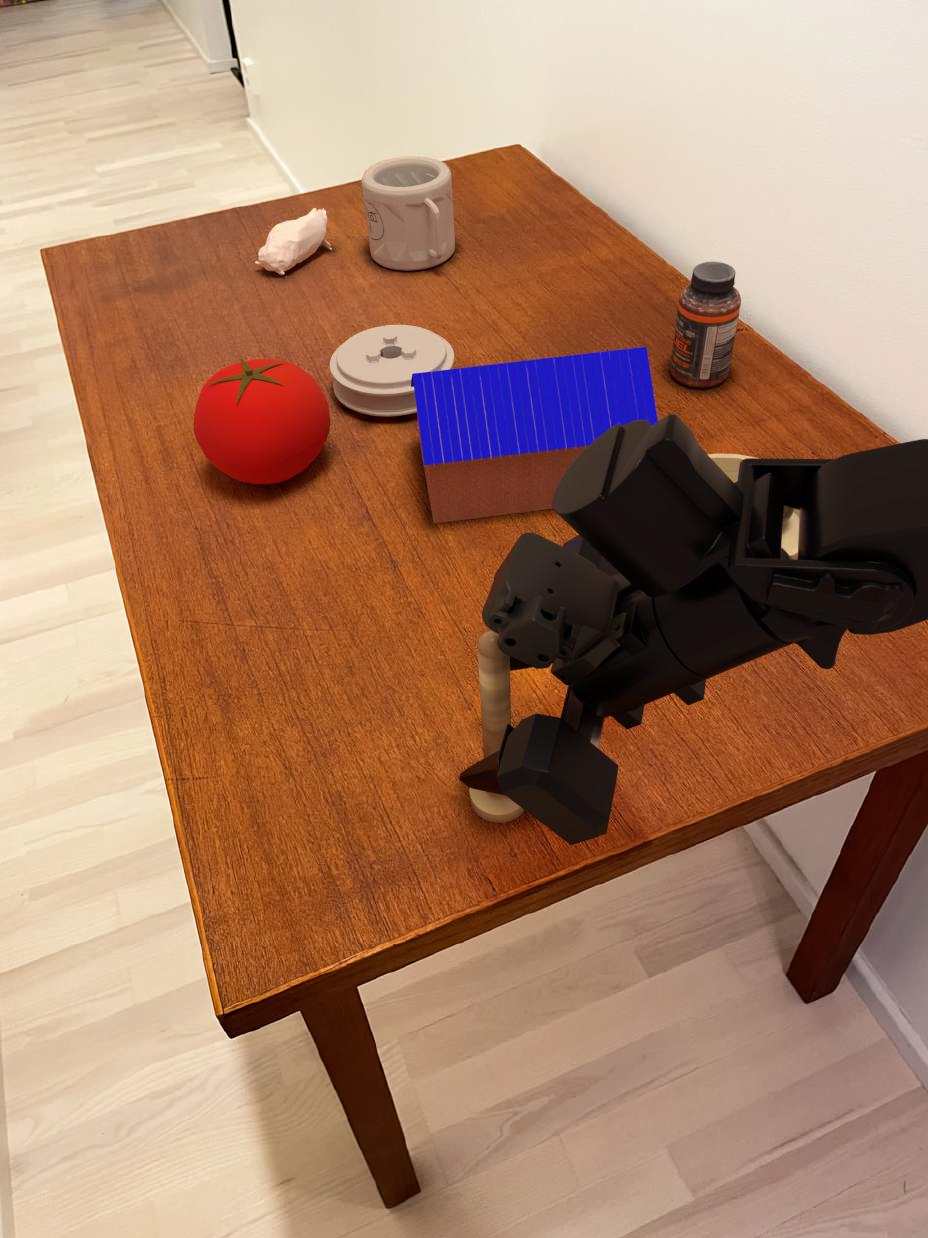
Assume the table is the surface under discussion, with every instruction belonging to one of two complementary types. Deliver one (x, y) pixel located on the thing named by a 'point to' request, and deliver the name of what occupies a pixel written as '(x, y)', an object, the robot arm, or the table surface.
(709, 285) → the supplement bottle
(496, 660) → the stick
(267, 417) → the tomato
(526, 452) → the house
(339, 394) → the lid
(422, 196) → the mug
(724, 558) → the robot arm
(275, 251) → the pale pink lumpy figure
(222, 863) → the table surface
